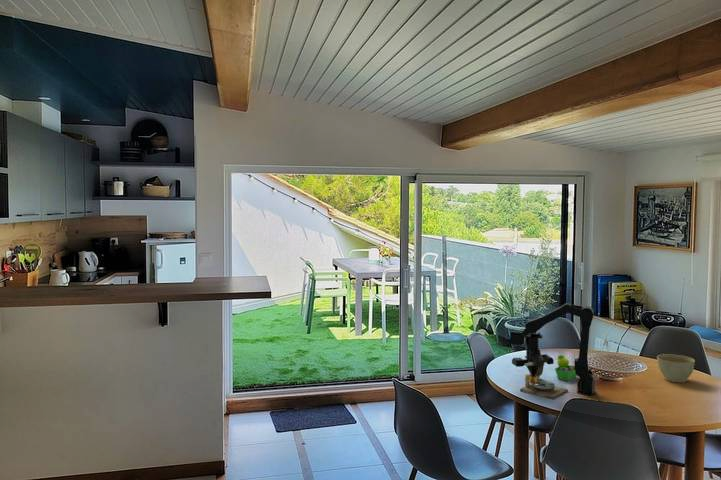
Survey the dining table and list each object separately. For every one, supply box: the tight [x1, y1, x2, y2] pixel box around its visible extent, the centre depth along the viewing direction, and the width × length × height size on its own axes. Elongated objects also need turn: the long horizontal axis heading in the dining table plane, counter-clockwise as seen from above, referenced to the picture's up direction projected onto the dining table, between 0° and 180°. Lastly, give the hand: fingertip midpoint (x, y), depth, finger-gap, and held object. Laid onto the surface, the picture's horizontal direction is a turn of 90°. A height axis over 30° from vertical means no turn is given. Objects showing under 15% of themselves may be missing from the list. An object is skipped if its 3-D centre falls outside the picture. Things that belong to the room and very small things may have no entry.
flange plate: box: [524, 373, 556, 390], centre depth 249 cm, size 14×10×3 cm
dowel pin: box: [524, 376, 530, 387], centre depth 251 cm, size 2×2×5 cm
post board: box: [519, 380, 569, 400], centre depth 248 cm, size 16×15×5 cm
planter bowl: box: [656, 353, 696, 383], centre depth 263 cm, size 16×16×11 cm
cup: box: [535, 365, 545, 379], centre depth 267 cm, size 8×7×8 cm
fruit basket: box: [554, 354, 578, 381], centre depth 268 cm, size 11×9×11 cm
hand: (533, 378), depth 255 cm, fingers closed
